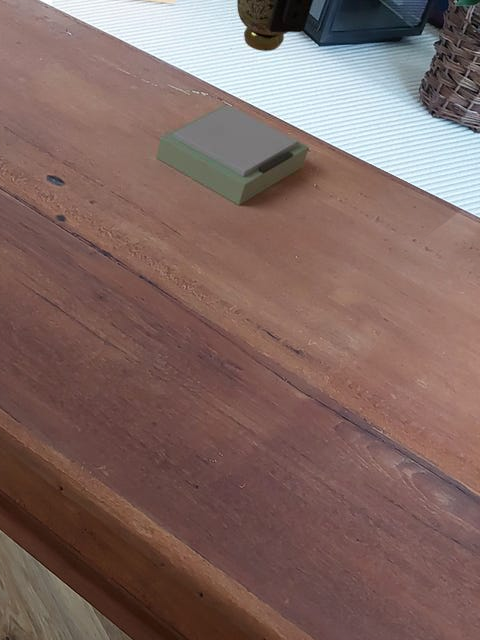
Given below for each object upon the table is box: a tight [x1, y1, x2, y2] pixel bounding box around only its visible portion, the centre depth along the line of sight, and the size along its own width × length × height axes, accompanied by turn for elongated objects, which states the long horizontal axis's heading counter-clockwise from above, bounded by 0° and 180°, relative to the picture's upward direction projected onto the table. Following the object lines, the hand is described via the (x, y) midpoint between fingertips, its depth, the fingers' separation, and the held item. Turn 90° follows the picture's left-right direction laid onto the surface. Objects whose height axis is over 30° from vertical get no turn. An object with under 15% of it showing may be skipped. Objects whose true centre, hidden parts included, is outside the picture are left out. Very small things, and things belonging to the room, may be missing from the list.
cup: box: [236, 0, 289, 52], centre depth 81 cm, size 8×7×8 cm
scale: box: [156, 104, 310, 206], centre depth 93 cm, size 11×11×3 cm
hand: (271, 8), depth 82 cm, fingers closed on cup, 7 cm apart
